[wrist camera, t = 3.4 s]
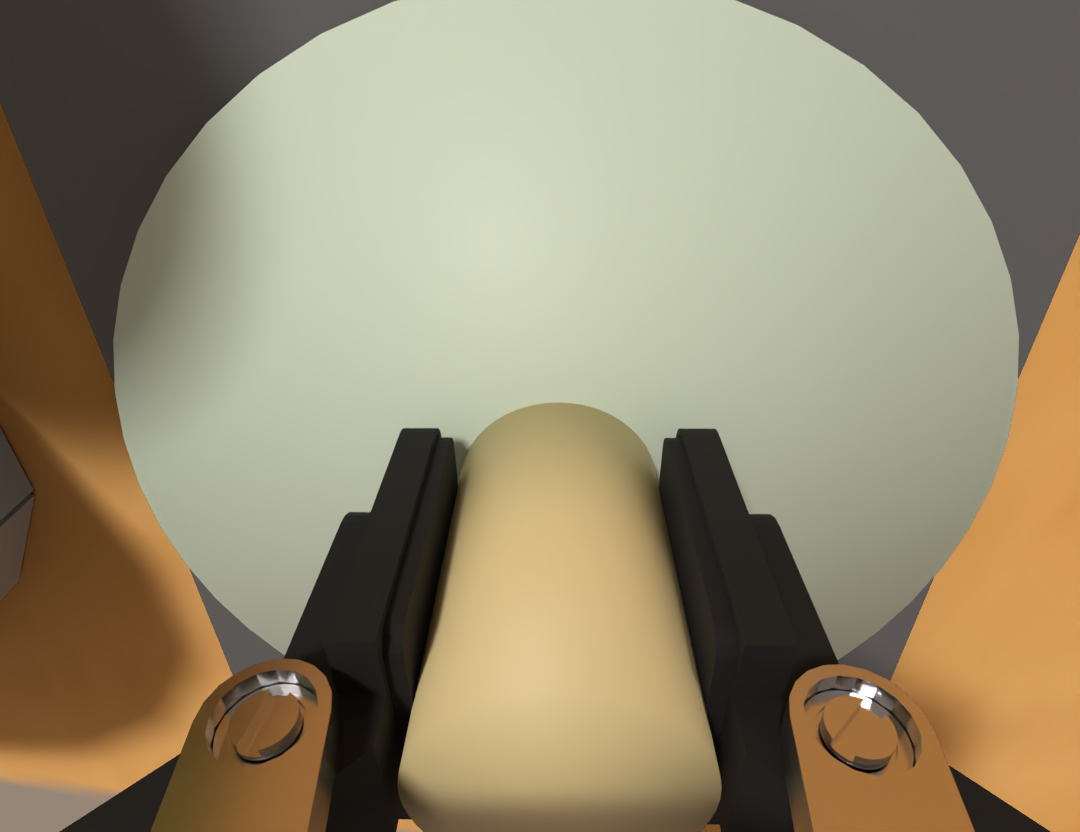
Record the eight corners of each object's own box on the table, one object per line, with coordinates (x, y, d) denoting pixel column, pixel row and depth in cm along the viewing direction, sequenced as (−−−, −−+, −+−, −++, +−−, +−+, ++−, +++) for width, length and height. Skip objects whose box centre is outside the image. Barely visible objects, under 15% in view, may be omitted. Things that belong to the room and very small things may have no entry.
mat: (1174, -81, 8) (1217, -87, 7) (865, 691, 16) (875, 713, 15) (-30, -60, 8) (-68, -65, 8) (255, 684, 16) (245, 706, 16)
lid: (1149, -36, 8) (2296, -124, 3) (861, 699, 15) (1015, 1051, 10) (-8, -13, 8) (-970, -51, 3) (262, 694, 15) (117, 1029, 10)
